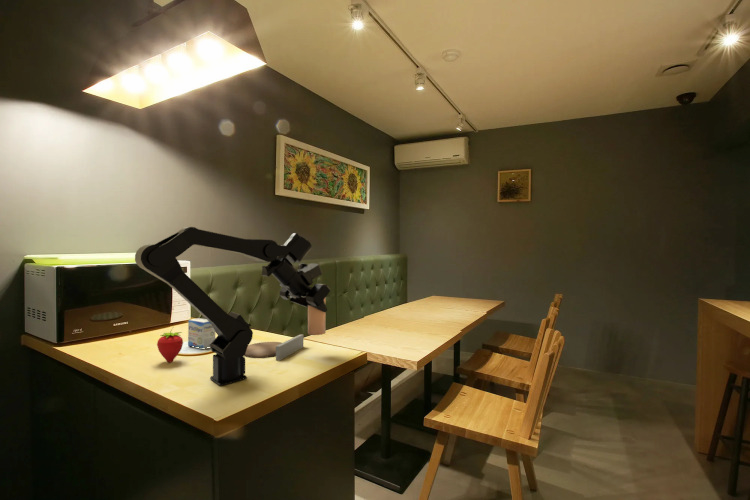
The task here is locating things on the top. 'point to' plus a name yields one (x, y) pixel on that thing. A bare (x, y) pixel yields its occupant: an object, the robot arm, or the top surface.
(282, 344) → the grey wall
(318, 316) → the salmon orange cylinder
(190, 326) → the medicine box
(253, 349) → the walnut board
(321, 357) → the top surface
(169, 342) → the strawberry
